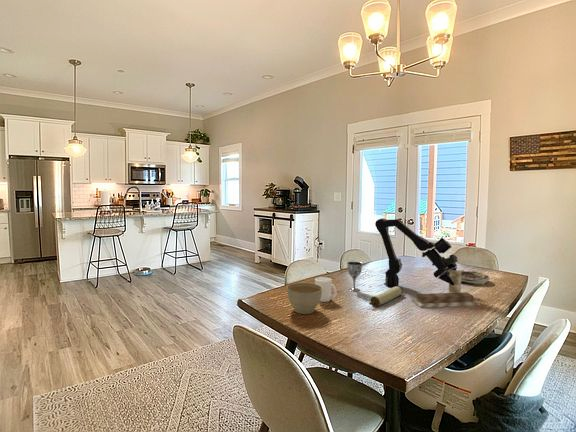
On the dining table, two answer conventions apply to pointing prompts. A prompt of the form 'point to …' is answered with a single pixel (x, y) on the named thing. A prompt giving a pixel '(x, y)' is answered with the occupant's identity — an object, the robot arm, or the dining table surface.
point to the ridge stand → (445, 300)
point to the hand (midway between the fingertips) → (456, 283)
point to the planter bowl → (304, 297)
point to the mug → (326, 288)
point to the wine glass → (354, 273)
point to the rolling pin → (386, 296)
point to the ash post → (455, 282)
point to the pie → (473, 277)
